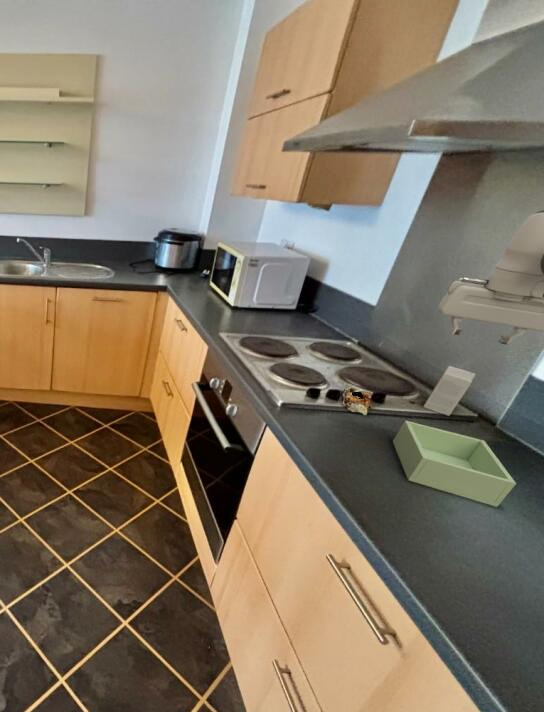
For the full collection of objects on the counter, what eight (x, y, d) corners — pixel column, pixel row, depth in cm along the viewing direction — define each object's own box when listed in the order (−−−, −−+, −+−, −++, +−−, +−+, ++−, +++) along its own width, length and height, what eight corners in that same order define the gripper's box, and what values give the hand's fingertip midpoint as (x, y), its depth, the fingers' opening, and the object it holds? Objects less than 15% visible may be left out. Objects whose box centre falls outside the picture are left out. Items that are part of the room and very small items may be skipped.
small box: (427, 398, 116) (448, 365, 111) (454, 407, 112) (476, 373, 107) (422, 407, 111) (443, 372, 106) (449, 416, 107) (472, 381, 102)
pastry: (344, 411, 107) (350, 399, 105) (337, 391, 116) (342, 380, 115) (377, 419, 104) (383, 407, 102) (366, 398, 114) (372, 386, 112)
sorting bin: (468, 462, 90) (484, 440, 87) (496, 507, 78) (516, 483, 75) (392, 441, 95) (405, 420, 93) (407, 480, 83) (422, 457, 80)
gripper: (459, 278, 97) (428, 332, 104) (581, 295, 89) (539, 353, 96) (451, 273, 102) (422, 325, 109) (565, 289, 94) (526, 344, 101)
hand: (477, 338), depth 102 cm, fingers open, 8 cm apart
